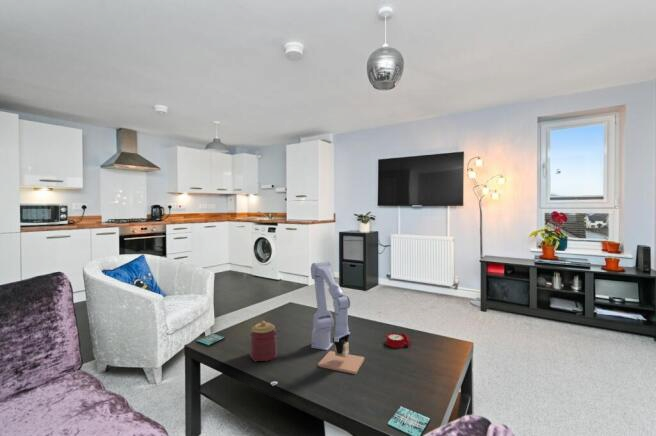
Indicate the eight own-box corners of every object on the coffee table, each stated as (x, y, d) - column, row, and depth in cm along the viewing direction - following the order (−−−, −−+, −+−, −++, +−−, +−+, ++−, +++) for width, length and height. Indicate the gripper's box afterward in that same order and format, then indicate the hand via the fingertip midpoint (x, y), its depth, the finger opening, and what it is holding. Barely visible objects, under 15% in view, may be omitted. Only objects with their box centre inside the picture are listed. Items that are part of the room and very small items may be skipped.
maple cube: (335, 355, 144) (335, 344, 144) (338, 350, 149) (338, 340, 149) (345, 357, 142) (345, 346, 142) (348, 352, 147) (348, 342, 147)
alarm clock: (381, 333, 171) (407, 326, 172) (384, 344, 171) (410, 337, 172) (386, 341, 160) (414, 334, 161) (389, 353, 161) (416, 346, 162)
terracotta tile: (318, 366, 143) (318, 363, 143) (329, 353, 156) (329, 350, 156) (355, 374, 136) (355, 371, 136) (364, 359, 149) (364, 357, 149)
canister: (282, 355, 153) (282, 320, 153) (260, 365, 144) (259, 328, 143) (266, 347, 162) (266, 314, 162) (244, 356, 153) (244, 321, 152)
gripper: (344, 329, 137) (344, 359, 137) (354, 318, 150) (354, 345, 151) (329, 326, 140) (329, 356, 140) (340, 316, 153) (341, 343, 153)
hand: (341, 350), depth 146 cm, fingers closed on maple cube, 5 cm apart
